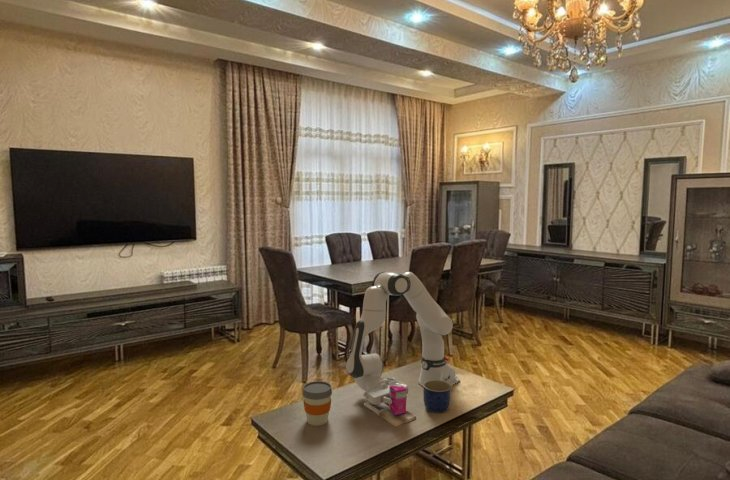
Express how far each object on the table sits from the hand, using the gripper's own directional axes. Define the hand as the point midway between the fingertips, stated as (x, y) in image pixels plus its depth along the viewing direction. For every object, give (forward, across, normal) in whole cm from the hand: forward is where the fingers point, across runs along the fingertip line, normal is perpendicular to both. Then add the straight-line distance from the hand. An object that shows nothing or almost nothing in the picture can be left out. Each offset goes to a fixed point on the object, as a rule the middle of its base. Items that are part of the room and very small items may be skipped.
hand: (399, 399), depth 193 cm
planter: (+3, +20, +9) cm, 22 cm away
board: (-1, 0, +8) cm, 8 cm away
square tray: (-13, 0, +8) cm, 15 cm away
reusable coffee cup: (-19, -30, +9) cm, 37 cm away
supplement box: (-1, 0, +6) cm, 6 cm away
